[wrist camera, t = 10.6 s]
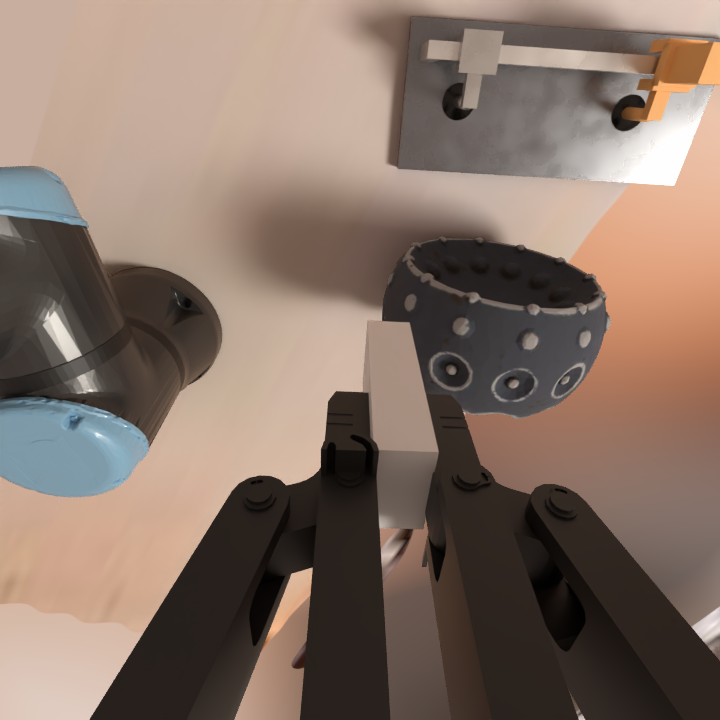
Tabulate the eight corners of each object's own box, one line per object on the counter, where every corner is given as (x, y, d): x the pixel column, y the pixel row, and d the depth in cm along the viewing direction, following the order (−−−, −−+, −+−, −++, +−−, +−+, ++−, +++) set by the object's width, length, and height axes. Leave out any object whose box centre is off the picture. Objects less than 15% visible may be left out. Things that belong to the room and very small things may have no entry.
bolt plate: (397, 167, 45) (398, 168, 44) (411, 17, 39) (412, 16, 38) (668, 183, 46) (674, 185, 45) (724, 40, 40) (733, 39, 39)
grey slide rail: (413, 104, 42) (422, 108, 36) (421, 34, 39) (431, 26, 34) (681, 122, 43) (730, 128, 37) (708, 54, 40) (765, 50, 35)
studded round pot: (385, 222, 48) (401, 299, 31) (565, 242, 49) (676, 326, 32) (372, 313, 54) (380, 420, 36) (534, 328, 55) (615, 439, 38)
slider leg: (609, 118, 42) (674, 127, 33) (632, 43, 39) (710, 32, 30) (640, 120, 42) (713, 129, 33) (665, 46, 39) (753, 35, 30)
